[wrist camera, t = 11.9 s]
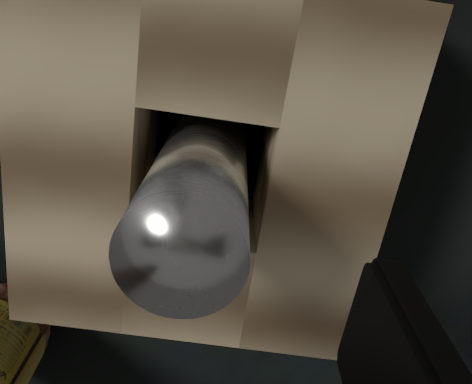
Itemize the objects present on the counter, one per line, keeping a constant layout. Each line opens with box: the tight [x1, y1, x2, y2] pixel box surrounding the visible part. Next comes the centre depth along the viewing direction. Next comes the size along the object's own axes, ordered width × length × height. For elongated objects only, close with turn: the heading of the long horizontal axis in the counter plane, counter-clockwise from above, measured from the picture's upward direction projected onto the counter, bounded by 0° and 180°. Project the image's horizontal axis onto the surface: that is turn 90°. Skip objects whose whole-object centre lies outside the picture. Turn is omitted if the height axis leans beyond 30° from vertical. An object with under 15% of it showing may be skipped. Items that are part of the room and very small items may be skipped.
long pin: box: [109, 114, 251, 319], centre depth 18 cm, size 4×4×12 cm
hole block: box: [0, 0, 454, 360], centre depth 21 cm, size 16×16×6 cm
